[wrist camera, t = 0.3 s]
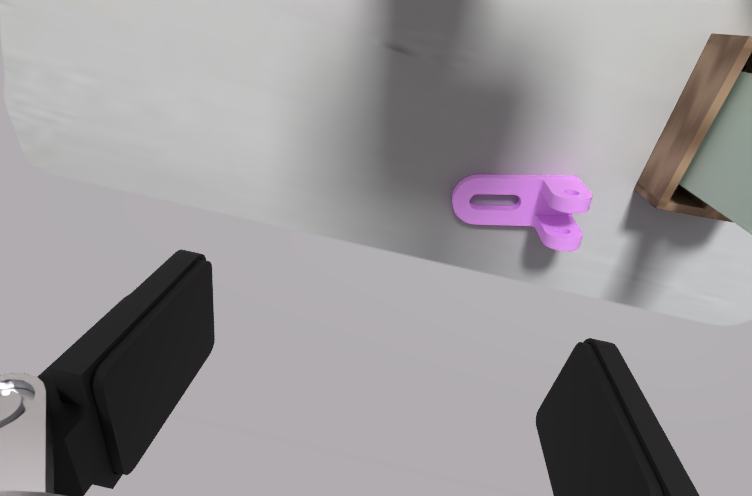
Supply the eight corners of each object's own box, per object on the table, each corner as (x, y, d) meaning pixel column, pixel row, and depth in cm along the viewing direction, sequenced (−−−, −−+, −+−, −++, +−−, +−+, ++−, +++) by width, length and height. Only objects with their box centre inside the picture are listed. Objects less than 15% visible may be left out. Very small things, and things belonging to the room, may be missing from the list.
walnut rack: (711, 33, 36) (749, 36, 32) (819, 51, 36) (871, 56, 32) (633, 189, 44) (655, 208, 40) (722, 205, 44) (753, 226, 39)
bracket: (575, 175, 44) (598, 200, 38) (565, 221, 47) (584, 251, 41) (453, 173, 46) (456, 197, 40) (450, 218, 48) (452, 247, 42)
